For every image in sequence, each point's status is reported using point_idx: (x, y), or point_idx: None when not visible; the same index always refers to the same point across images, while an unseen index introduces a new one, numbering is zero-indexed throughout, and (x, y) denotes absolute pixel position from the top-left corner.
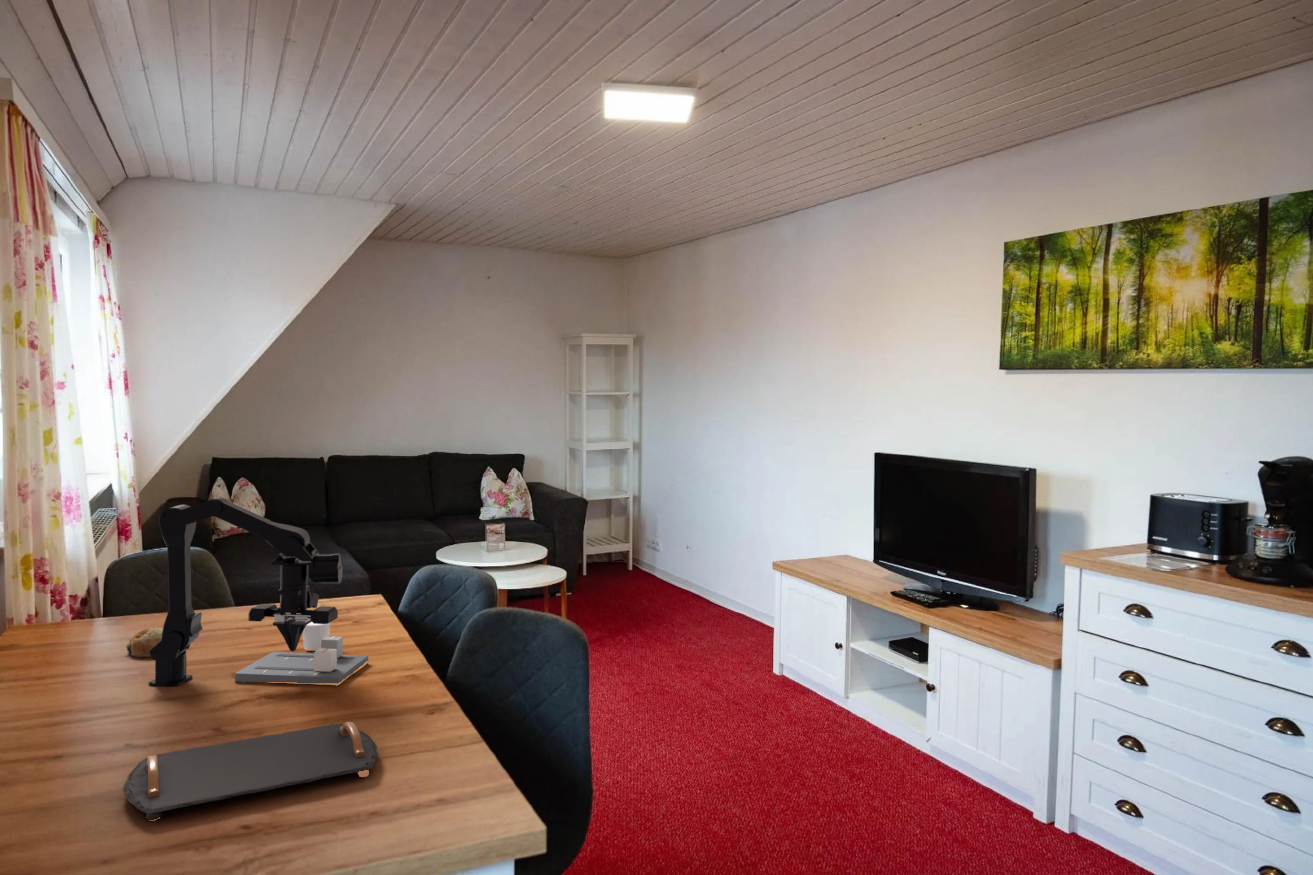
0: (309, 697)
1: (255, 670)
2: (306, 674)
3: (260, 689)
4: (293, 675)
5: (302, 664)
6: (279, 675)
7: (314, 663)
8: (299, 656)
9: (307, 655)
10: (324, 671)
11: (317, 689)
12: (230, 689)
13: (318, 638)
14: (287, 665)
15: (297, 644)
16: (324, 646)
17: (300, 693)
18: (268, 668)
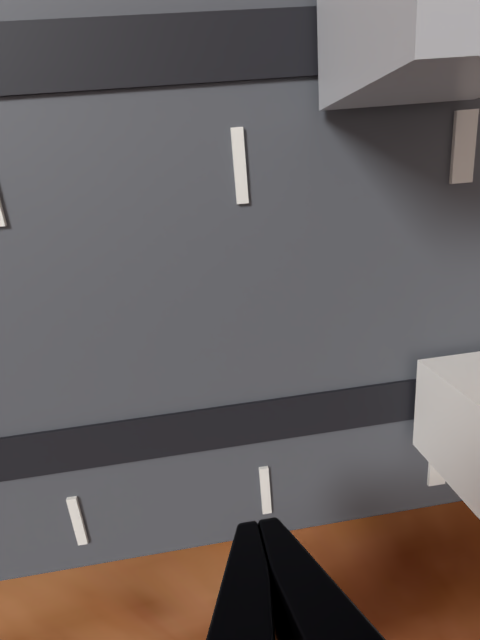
0: (457, 594)
1: None
2: (380, 484)
3: (173, 587)
4: (311, 522)
5: (241, 308)
6: (221, 540)
7: (447, 478)
8: (70, 90)
9: (128, 31)
10: None
11: (453, 508)
12: (17, 630)
13: None
14: (138, 359)
15: (311, 563)
16: (407, 81)
17: (397, 570)
18: (52, 467)
